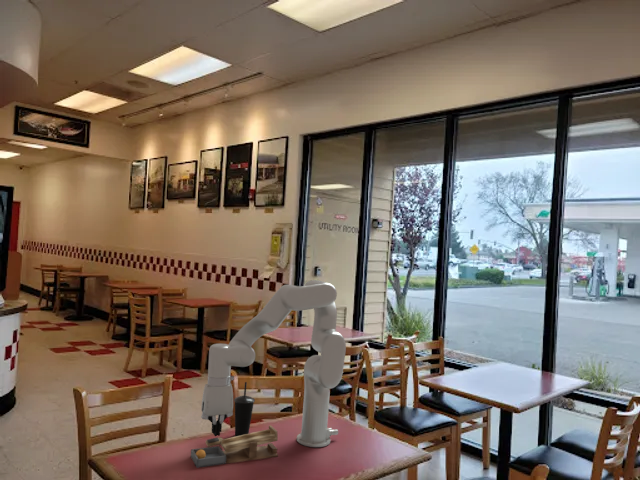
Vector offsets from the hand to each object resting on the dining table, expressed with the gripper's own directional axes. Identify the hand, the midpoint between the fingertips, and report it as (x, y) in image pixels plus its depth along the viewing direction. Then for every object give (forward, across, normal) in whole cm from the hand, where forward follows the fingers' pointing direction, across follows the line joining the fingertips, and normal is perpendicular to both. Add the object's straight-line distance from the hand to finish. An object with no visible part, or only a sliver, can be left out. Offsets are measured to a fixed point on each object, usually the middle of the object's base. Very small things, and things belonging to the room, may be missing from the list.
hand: (216, 434), depth 168 cm
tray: (+6, +4, +6) cm, 9 cm away
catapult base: (+6, -10, +6) cm, 13 cm away
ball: (+4, +7, +6) cm, 10 cm away
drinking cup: (+6, -13, -11) cm, 18 cm away
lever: (+2, -8, +4) cm, 9 cm away
